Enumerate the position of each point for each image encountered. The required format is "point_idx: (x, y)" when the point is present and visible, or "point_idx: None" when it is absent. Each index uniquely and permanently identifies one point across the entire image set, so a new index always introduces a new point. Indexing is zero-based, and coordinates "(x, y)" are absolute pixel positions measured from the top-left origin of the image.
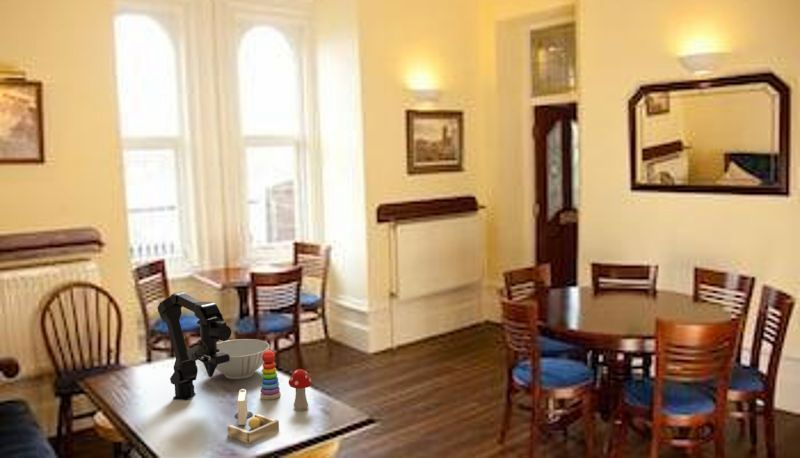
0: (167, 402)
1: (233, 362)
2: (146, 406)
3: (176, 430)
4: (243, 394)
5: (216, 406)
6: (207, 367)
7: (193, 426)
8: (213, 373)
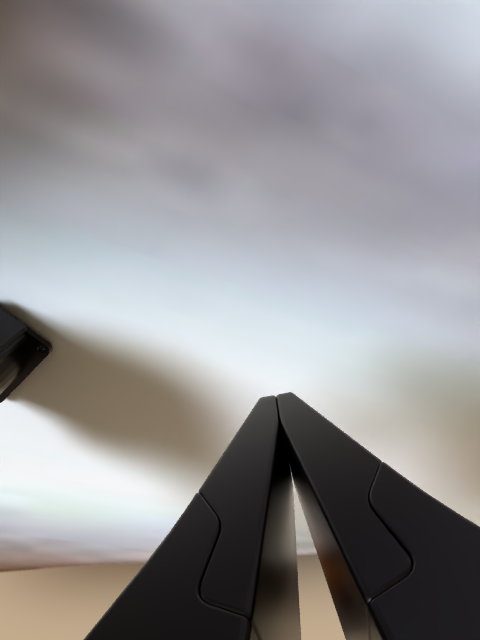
0: (44, 426)
1: None
2: (60, 495)
3: (411, 471)
4: None
5: (260, 239)
6: (295, 609)
7: (432, 417)
8: (312, 408)
